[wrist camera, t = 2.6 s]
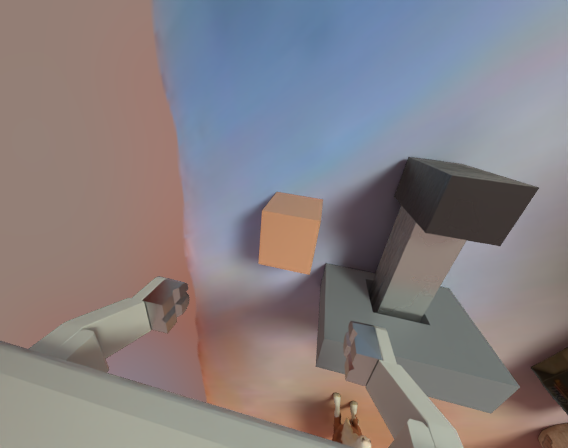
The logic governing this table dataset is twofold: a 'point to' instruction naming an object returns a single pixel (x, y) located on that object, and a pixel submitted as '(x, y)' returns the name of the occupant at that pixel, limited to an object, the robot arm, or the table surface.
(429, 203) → the shaft
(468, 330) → the block
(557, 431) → the figurine
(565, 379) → the beverage carton
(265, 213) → the block
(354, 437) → the bull figurine
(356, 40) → the table surface
